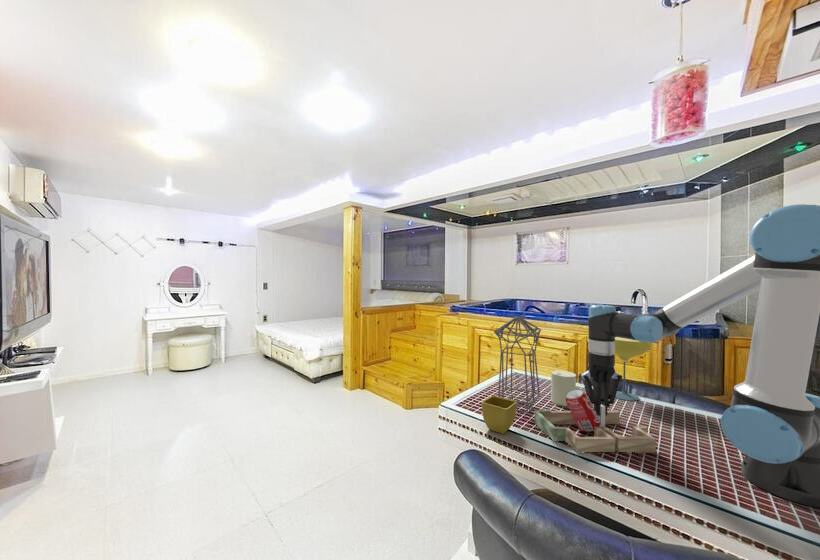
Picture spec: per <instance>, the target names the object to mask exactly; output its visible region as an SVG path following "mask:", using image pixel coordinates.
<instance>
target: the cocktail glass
mask: <svg viewBox="0 0 820 560" xmlns="http://www.w3.org/2000/svg"><path fill="white" fill-rule="evenodd" d="M651 349H652V343H651V342H640V341H637V340H631V339H626V338H620V337H615V353H614V355H615V356H617V357H618V358H619V359H620V360H621V361H622V362H623V375H622V379H623V380H622V381H623V382H622V390H621V391H619V390H617V393H616V397H615V399H618V400H621V401H626V400H627V402H637V400H638V399H639V398H640V397H639V396H638V395H636V394H633V393H630V392H627V389H626V362H628V361H630V359H632V358H633V357H637V356H640V355H644V354H646V353H649V351H651ZM638 401H639V400H638Z"/></svg>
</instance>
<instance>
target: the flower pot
mask: <svg viewBox="0 0 820 560" xmlns="http://www.w3.org/2000/svg"><path fill="white" fill-rule="evenodd" d="M501 397H502V396H500V397H498V396H497V395H492V396H491V395H490V396H489V397H488V398H486V399H484V400H483V401H482V402H481V410H482V417H483V421H484V424H485V426H486V428H488V429H489V430H490V431H493V432H496V433H498V434H505V433H506V432H507V431H509V429H510V428H511V427H512V425H513V423H514V421H515V418H516V413H517V411H516V410H517V405H518V403H517V402H516V401H513V400H514V399H513V400H509V398H507V399H505V398H506V397H504V398H501Z"/></svg>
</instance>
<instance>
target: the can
mask: <svg viewBox="0 0 820 560" xmlns="http://www.w3.org/2000/svg"><path fill="white" fill-rule="evenodd" d="M550 374H551V377H550V378H551V385H550V402H551V403H553V404H556V405H558V406H561V407H568V405H567V403H566V397H565V394H566V392H568V391H569V390H572V389H577V388H576V385H577V383H576V382H577V374H576V373H574V372H571V371H566V370H559V369H558V370H552V371H551V372H550Z"/></svg>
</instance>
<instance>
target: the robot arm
mask: <svg viewBox="0 0 820 560" xmlns="http://www.w3.org/2000/svg"><path fill="white" fill-rule="evenodd" d="M749 242H750V243H749V244H750V246H751V247H752V250H753V251H754V254H753V255H752V256H750V257H748V258H746V259H744V260H743V261H740V263H737V264H736V265H734V266H732V267H730V268H729V269H728V270H725V271H724V272H722V273H720V274H718V275H716V276H715V277H713V278H712V279H710V280H707V281H706V282H705V283H703V284H701V285H700V286H697V287H696V288H694V289H692V290H691V291H689V292H687V293H685V294H684V295H682V296H679V297H678V298H677V299H675V300H672V302H669V303H667V304H666V305H664V306H662V307H661V308H660V309H658V310H656V311H654V312H651V313H641V314H638V313H637V314H632V313H619V312H617V310H616V306H614V305H608V304H593V305H590V306H589V308H588V317H587V319H588V320H587V321H588V323H587V324H588V336H587V337H588V339H587V340H588V341H587V342H588V344H587V349H588V352H587V364H588V365H587V366H588V367H587V369H586V370H587V371H585V372H584V373H583V372H580V373H579V376H580V378H581V379H582V382H583V386H584V390H585V393H586V394H587V395H588V397H589V399H590V401H591V403H592V405H593V407H594V409H595V411H596V413H597V416H598V418H599V420H600V426H599V427H606V424H605V416H607V411H608V408H609V407H611V405H614V403H615V401H616V400H615V399H616V398H615V397H616V393H617V391H618V388H619V385H620V382H621V380H622V379H623V375H622V374H620V373H618V372H616V370H615V366H616V354H614V353H615V337H620V338H626V339H631V340H637V341H640V342H651V344H652V343H657V342H658V341H659V340H661V338H669V337H671V336H674V335H676V334H677V333H678V332H679V331H680V330H681V329H683V328H684V327H686V326H689V325H690V324H693V323H695V322H697V321H699V320H701V319H703V318H705V317H708V316H710V315H711V314H713V313H715V312H717V311H719V310H721V309H723V308H725V307H727V306H729V305H731V304H733V303H735V302H737V301H739V300H741V299H743V298H745V297H748V296H749V295H752V294H753V293H755V292H758V291H759V293H758V298H757V304H756V311H755V316H754V323H753V329H752V335H751V341H750V346H749V354H748V357H747V358H748V359H747V365H746V370H745V377H744V378H745V379H744V381H743V382H740V383H737V384H736V385H734V387H733V390H732V396H731V397H732V398H731V402H730V406H729V407H727V408H726V409H725V411H723V413H722V415H721V417H720V427H721V431H722V432H723V435H724V436H725V438H726V439H727V440H728V441H729V442H730V443H731V445H733V446H734V448H736V449H737V450H738V451H740V452H741V453H743V454H745V456H744V459H743V460H742V461H741V474H742V476H743V477H744V478H745V480H747V481H749V482H750V483H752V484H753V485H754V486H756V487H758V488H760V489H762V490H764V491H766V492H768V493H771V494H773V495H774V496H777V497H780V498H783V499H785V500H787V501H791V502H795V503H798V504H801V505H804V506H810V507H814V508H818V509H819V508H820V396H819V395H814V394H811V393H807V392H806V391H807V386H808V382H809V381H808V379H809V374H810V370H811V369H810V368H811V363H812V359H813V352H814V348H815V347H814V346H815V343H816V342H815V341H816V336H817V331H818V330H817V329H818V324H819V319H820V205H817V204H806V203H805V204H803V203H801V204H799V203H798V204H791V205H786V206H781V207H778V208H776V209H773V210H771V211H770V212H767V213H766V214H765V215H763V216H762V217H760V218H759V219H758V220H757V221H756V222H755V223H754V225H753V226H752V228H751V230H750V233H749Z"/></svg>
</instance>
